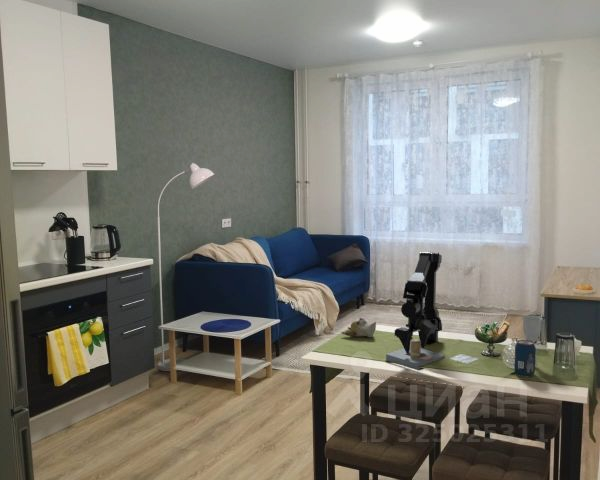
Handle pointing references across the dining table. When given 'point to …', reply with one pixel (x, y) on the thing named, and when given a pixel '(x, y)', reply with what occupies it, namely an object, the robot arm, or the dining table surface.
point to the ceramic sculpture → (361, 328)
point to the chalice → (532, 328)
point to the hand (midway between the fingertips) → (415, 350)
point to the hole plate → (413, 358)
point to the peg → (415, 348)
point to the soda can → (525, 358)
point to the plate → (464, 358)
